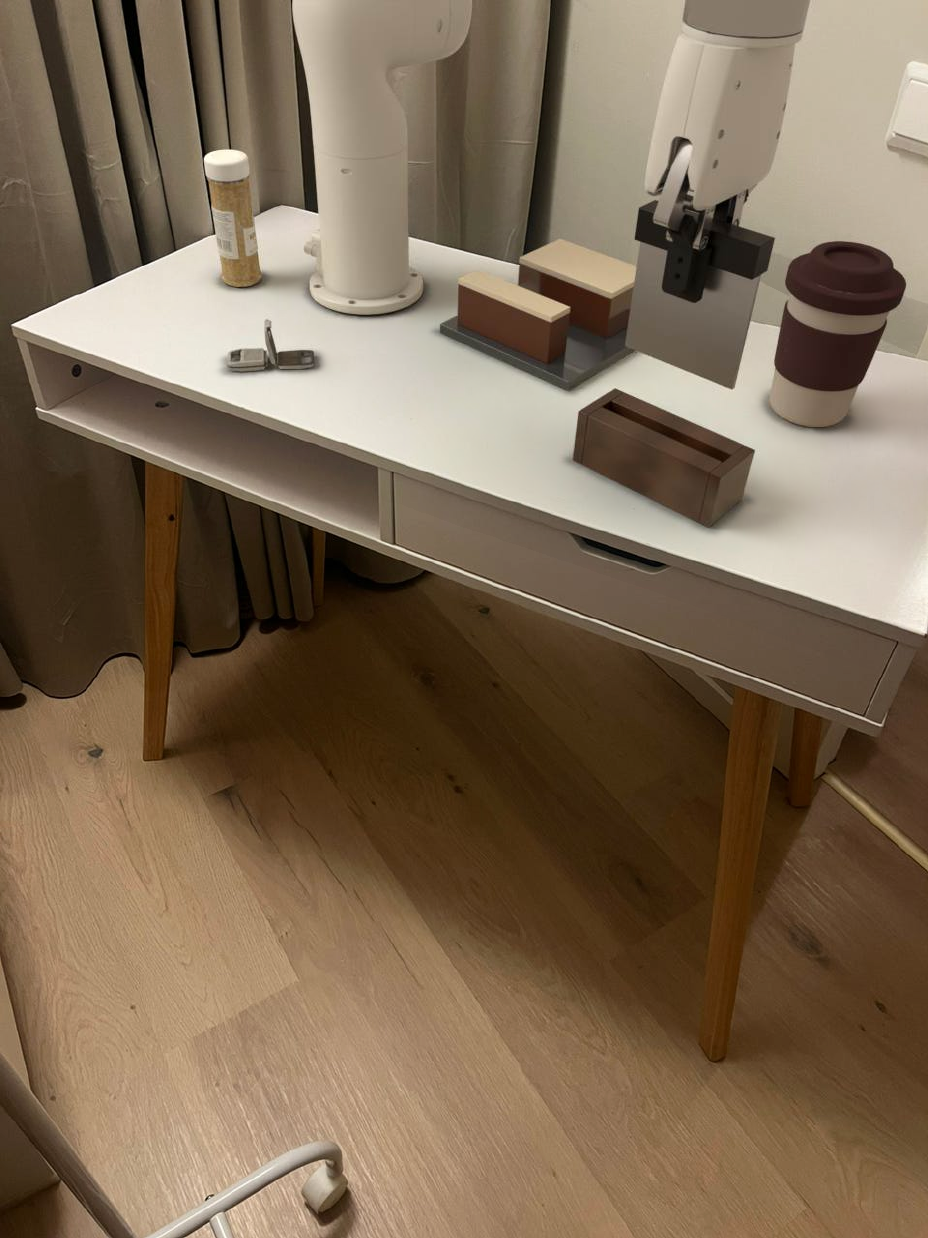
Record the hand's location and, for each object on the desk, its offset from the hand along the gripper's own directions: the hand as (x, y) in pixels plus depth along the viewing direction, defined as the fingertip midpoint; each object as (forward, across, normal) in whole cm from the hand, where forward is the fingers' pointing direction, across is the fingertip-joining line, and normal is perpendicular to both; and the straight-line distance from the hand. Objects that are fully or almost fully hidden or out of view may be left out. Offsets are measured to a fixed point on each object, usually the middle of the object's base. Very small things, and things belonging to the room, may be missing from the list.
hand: (692, 287), depth 74 cm
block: (+17, 0, 0) cm, 17 cm away
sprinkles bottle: (+17, 0, -56) cm, 59 cm away
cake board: (+17, -15, -23) cm, 32 cm away
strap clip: (+17, +10, -39) cm, 44 cm away
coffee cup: (+17, -20, +4) cm, 27 cm away
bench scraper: (+6, 0, 0) cm, 6 cm away
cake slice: (+16, -9, -24) cm, 31 cm away
